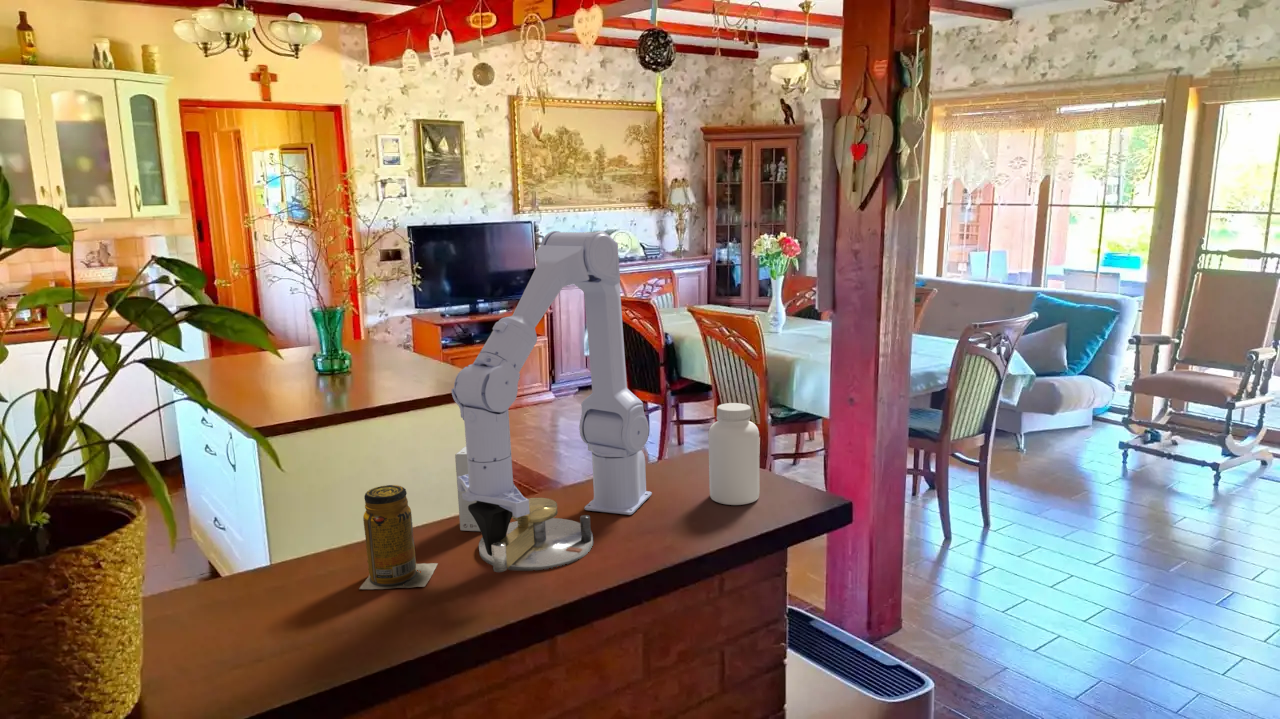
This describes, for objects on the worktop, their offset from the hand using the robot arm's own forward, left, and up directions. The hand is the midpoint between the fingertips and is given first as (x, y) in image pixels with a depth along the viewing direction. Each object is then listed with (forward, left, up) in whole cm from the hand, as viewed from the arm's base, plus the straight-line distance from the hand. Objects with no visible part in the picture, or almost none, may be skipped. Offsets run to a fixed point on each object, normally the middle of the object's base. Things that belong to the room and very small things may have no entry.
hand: (496, 553), depth 116 cm
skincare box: (-13, -10, -2) cm, 16 cm away
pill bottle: (-34, +24, -2) cm, 41 cm away
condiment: (+6, -11, -2) cm, 13 cm away
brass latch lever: (-4, +2, -1) cm, 4 cm away
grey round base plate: (-8, +2, -2) cm, 8 cm away
